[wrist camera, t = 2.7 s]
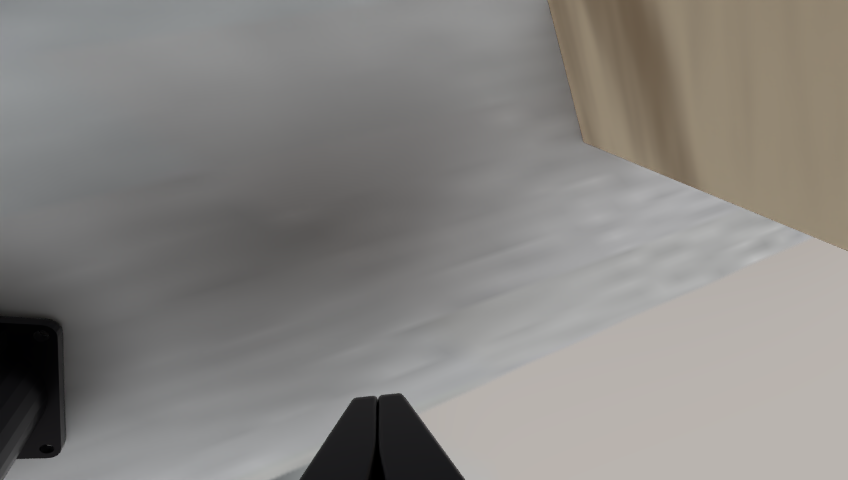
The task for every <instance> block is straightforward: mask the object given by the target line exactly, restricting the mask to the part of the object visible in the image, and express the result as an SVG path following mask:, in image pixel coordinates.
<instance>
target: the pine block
mask: <svg viewBox="0 0 848 480" xmlns="http://www.w3.org/2000/svg"><path fill="white" fill-rule="evenodd" d="M548 3H549V7H550V11H551V15H552V19H553V23H554V27H555V31H556V35H557V39H558V43H559V47H560V51H561V55H562V59H563V63H564V67H565V71H566V75H567V78H568V82H569V86H570V90H571V94H572V98H573V102H574V106H575V110H576V114H577V118H578V122H579V126H580V130H581V134H582V138H583V142H584V143H587V144H589V145H592V146H594V147H596V148H599V149H601V150H604V151H606V152H609V153H611V154H613V155H616V156H618V157H621V158H623V159H626V160H628V161H630V162H633V163H635V164H638V165H640V166H643V167H645V168H647V169H650V170H652V171H655V172H657V173H660V174H662V175H664V176H667V177H669V178H672V179H674V180H677V181H679V182H681V183H684V184H686V185H689V186H691V187H694V188H696V189H698V190H701V191H703V192H706V193H708V194H710V195H713V196H715V197H718V198H720V199H723V200H725V201H727V202H730V203H732V204H735V205H737V206H740V207H742V208H744V209H747V210H749V211H752V212H754V213H757V214H759V215H761V216H764V217H766V218H769V219H771V220H774V221H776V222H778V223H781V224H783V225H786V226H788V227H791V228H793V229H795V230H798V231H800V232H803V233H805V234H808V235H810V236H812V237H815V238H817V239H820V240H822V241H825V242H827V243H829V244H832V245H834V246H837V247H839V248H841V249H844V250H846V251H848V0H548Z"/></svg>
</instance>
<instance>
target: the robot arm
mask: <svg viewBox="0 0 848 480" xmlns="http://www.w3.org/2000/svg"><path fill="white" fill-rule="evenodd" d="M39 331H46V332H47V333H48V334H49V336H45V335H42V334H40V333H39ZM46 444H49V445H52V446H47V445H46ZM64 444H65V415H64V379H63V342H62V329H61V326H60V325H59V324H58V323H57V322H55V321H53V320H49V319H39V318H22V317H5V316H0V480H3V479H4V477H5V476H6V474H7V473H8V471H9V469H10V468H11V466H12V465H13V463H14V461H15V460H16V459H29V458H51V457H54V456H57V455H58V454H59V453H60V452H61V450H62V448H63V446H64ZM300 480H465V479H464V477H463V476H462V475H461V474H460V472H459V471H458V469H457V468H456V467H455V465H454V464H453V463H452V461H451V460H450V458H449V457H448V456H447V455H446V453H445V452H444V450H443V449H442V448H441V446H440V445H439V443H438V442H437V441H436V439H435V438H434V436H433V435H432V434H431V432H430V431H429V430H428V428H427V427H426V426H425V424H424V423H423V422H422V420H421V419H420V417H419V416H418V415H417V413H416V412H415V410H414V409H413V408H412V406H411V405H410V404H409V402H408V401H407V400H406V398H405V397H404V396H403V395H402V394H400V393H397V394H387V395H381V396H380V397H379V398H378V399H377V397H375V396H368V397H358V398H354V399H353V400H352V401H351V403H350V404H349V406H348V407H347V409H346V410H345V412H344V413H343V415H342V416H341V418H340V419H339V421H338V422H337V424H336V425H335V427H334V428H333V430H332V431H331V433H330V434H329V436H328V437H327V439H326V440H325V442H324V443H323V445H322V446H321V448H320V449H319V451H318V453H317V454H316V456H315V457H314V459H313V460H312V462H311V463H310V465H309V466H308V468H307V469H306V471H305V472H304V474H303V475H302V477H301V478H300Z"/></svg>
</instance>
